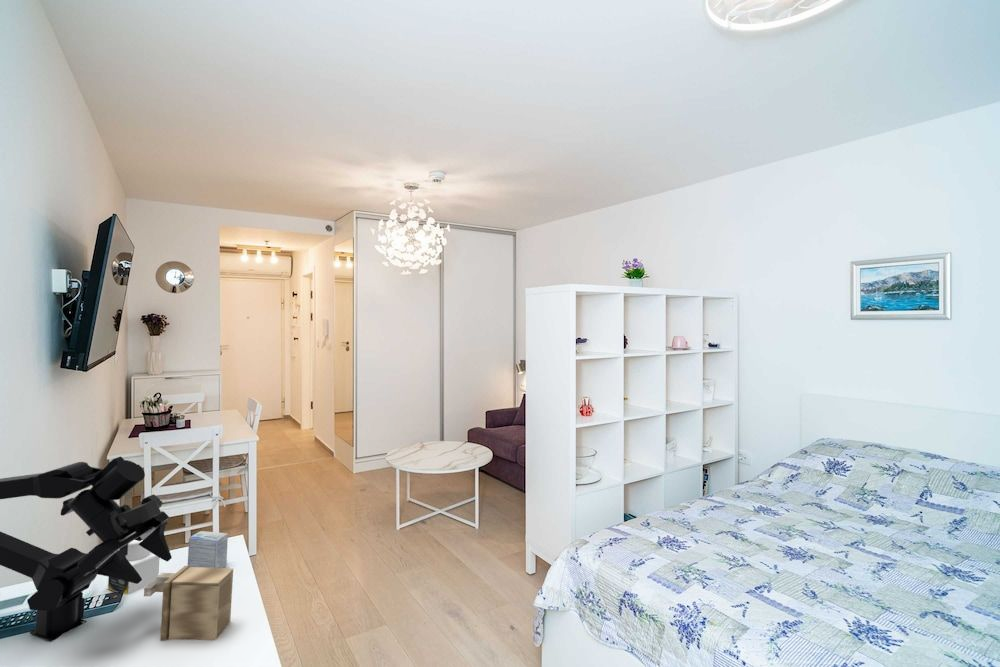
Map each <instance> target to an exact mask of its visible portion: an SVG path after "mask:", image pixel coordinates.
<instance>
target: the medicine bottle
mask: <svg viewBox="0 0 1000 667" xmlns="http://www.w3.org/2000/svg"><path fill="white" fill-rule="evenodd" d="M142 541H143V540H141V541H137V540H133V541H132V542H130V543H128V544H127V545H125V546H123V547H122V548H124V547H125V549H126V559H127V560H128V561H129V562H130V564H131V565H132V566H133V567H134V568H135V570H136V571H137V572H138V573H139V575H140V577H141V578H142V581H140V582H139V583H138V584H135V583H132V582H128V581H124V580H121V579H117V578H113V577H108V580H107V582H108V583H107V589H108V590H110V591H112V592H115V593H118V592H120V591H124V593H123V594H125V595H129V594H132V593H134V592H136V591H138V590H140V589H143V588H145V587H147V586H148V585H149V584H150V583H152V582H153V581H154V580H156V578H157V576H159V575H160V573H159V571H160V558H159V557H158V556H156V555H154V554H153V553H151V552H150V551H148V550H146V549H145V548H143V547H141V546H140V545H139V543H141V542H142ZM122 548H120V549H119V550H121V549H122ZM120 593H121V592H120Z"/></svg>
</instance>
